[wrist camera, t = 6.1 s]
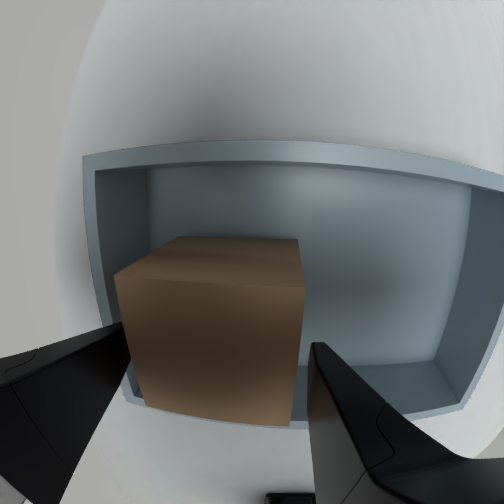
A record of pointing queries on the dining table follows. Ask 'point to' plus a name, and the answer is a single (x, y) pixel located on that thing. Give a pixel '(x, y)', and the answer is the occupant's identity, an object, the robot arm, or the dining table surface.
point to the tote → (327, 251)
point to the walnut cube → (216, 327)
